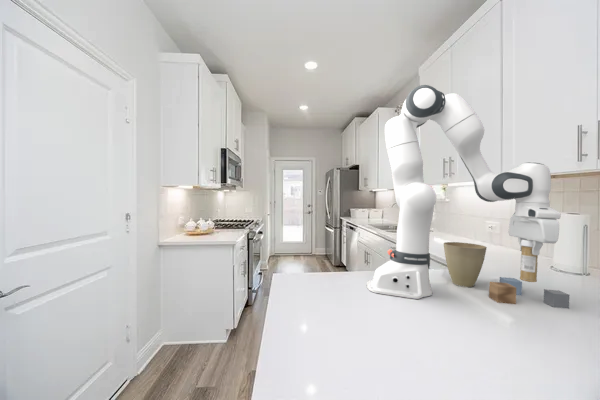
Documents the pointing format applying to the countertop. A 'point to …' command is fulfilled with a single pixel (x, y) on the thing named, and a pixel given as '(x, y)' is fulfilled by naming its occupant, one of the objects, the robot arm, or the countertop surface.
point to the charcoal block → (556, 298)
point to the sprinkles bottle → (528, 262)
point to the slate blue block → (513, 284)
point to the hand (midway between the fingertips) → (529, 253)
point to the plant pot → (464, 262)
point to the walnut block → (502, 292)
